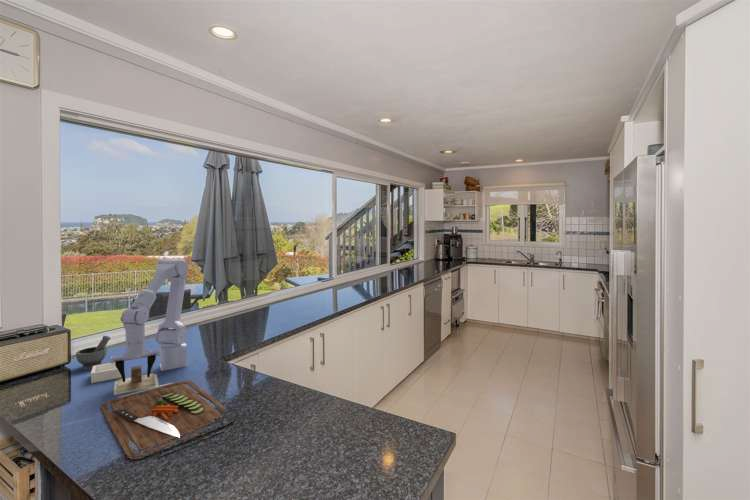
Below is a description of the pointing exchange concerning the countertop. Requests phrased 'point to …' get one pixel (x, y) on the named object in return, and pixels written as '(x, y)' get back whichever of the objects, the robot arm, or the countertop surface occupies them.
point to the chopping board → (159, 415)
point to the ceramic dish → (104, 373)
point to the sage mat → (136, 389)
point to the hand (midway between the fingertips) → (136, 378)
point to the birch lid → (135, 381)
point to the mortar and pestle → (93, 354)
